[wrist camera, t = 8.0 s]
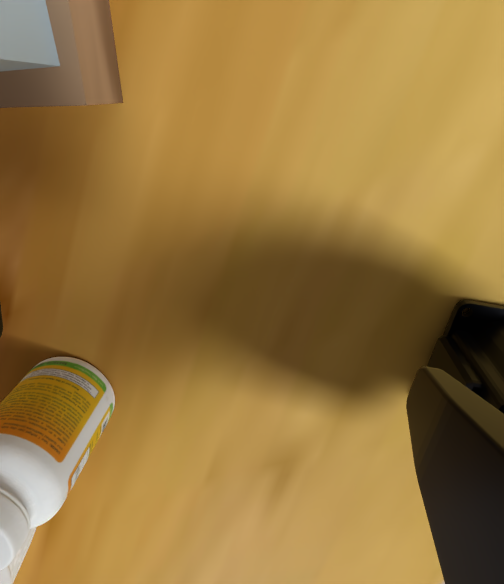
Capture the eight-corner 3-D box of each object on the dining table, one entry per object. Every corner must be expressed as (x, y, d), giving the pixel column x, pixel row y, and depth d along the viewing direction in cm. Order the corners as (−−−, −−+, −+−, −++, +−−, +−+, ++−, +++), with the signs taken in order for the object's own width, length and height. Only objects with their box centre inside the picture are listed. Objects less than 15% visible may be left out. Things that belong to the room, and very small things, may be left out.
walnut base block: (101, -67, 17) (49, -111, 13) (124, 102, 19) (86, 105, 16) (-45, -58, 17) (-134, -97, 14) (-3, 106, 20) (-70, 109, 16)
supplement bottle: (15, 358, 25) (-129, 499, 17) (101, 348, 25) (-3, 491, 16) (48, 429, 28) (-65, 586, 19) (128, 422, 27) (49, 583, 18)
